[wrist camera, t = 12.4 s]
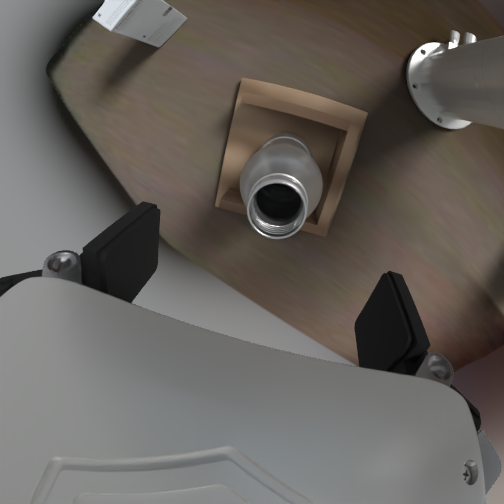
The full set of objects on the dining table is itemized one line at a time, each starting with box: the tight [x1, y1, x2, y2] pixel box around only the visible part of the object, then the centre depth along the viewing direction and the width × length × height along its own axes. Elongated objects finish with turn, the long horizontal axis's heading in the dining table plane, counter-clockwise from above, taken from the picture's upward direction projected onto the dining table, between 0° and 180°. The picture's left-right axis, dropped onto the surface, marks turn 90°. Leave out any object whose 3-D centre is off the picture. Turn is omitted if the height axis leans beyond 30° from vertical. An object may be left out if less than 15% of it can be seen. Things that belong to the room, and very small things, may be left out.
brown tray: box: [215, 78, 368, 237], centre depth 32 cm, size 18×16×6 cm
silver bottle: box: [240, 133, 323, 239], centre depth 25 cm, size 6×7×20 cm
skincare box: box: [93, 0, 187, 47], centre depth 22 cm, size 6×4×12 cm
